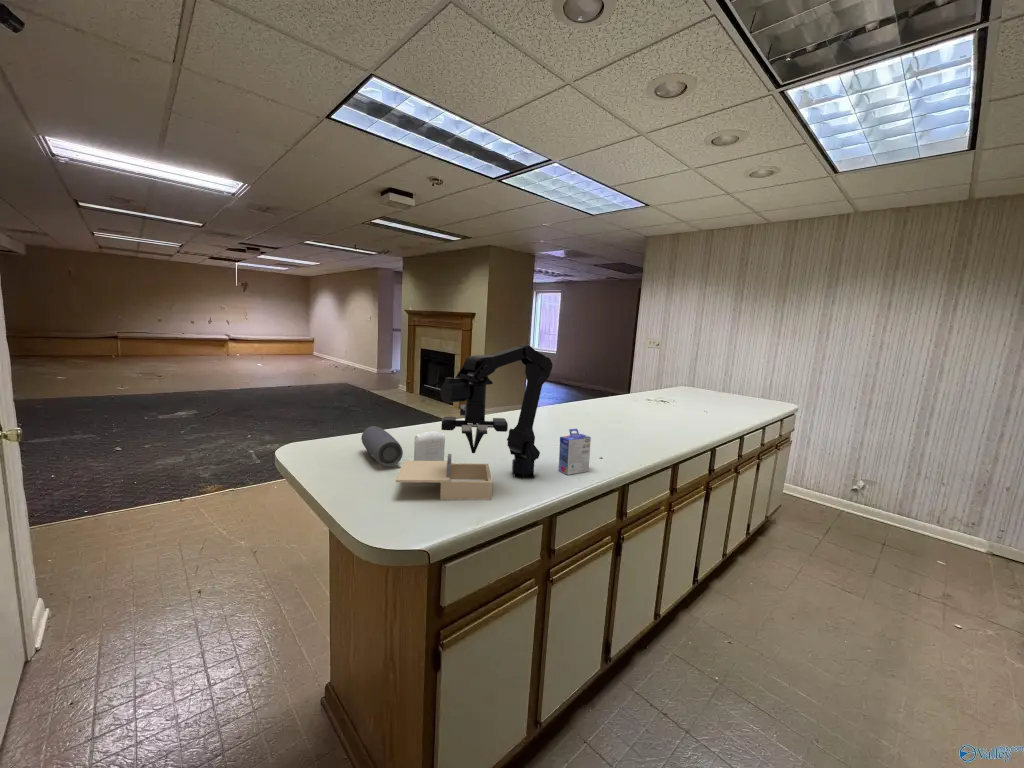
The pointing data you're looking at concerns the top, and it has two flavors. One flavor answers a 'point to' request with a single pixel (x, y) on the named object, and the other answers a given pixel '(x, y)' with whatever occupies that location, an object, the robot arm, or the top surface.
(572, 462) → the ink cartridge box
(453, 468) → the mailer box
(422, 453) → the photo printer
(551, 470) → the top surface
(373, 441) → the bluetooth speaker
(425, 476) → the lid
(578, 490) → the top surface
